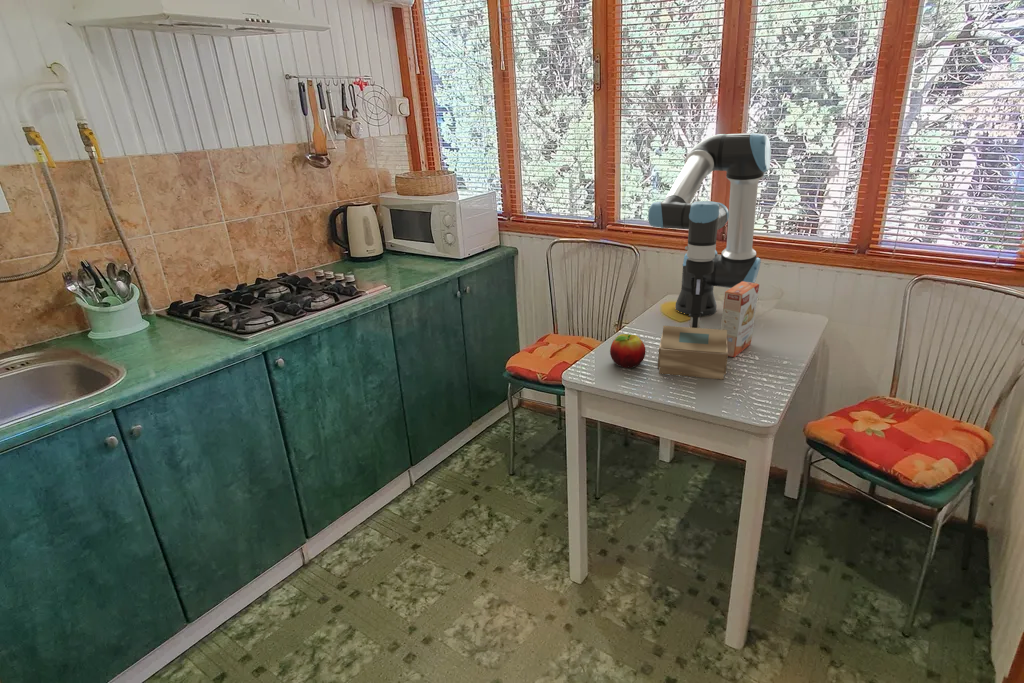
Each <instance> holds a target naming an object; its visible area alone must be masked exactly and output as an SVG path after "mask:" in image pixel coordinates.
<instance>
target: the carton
mask: <svg viewBox="0 0 1024 683" xmlns="http://www.w3.org/2000/svg"><path fill="white" fill-rule="evenodd" d="M662 335H663V332H662V333H661V337H660V343H659V345H658V346H659V347H658V359H657V369H659V370H658V374H659V375H665V374H670V375H669V376H676V375H680V376H679V377H686V376H688V378H700V379H711V380H719V381H723V380H724V377H725V375H727V367H728V366H727V365H728V359H729V358H728V357H729V356H728V348H727V339H726V353H718V352H705V351H692V350H680V349H667V348H661V346H662Z"/></svg>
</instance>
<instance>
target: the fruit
mask: <svg viewBox="0 0 1024 683" xmlns="http://www.w3.org/2000/svg"><path fill="white" fill-rule="evenodd" d="M645 345H646V344H645V343H644V342H643V341H642V339H641V338H640V337H639V336H638V335H635V334H627V333H621V334H619V335H617V336H616V337H615V338H614V340H613V341H612V343H611V345H610V350H609V352H610V353H609V354H610V358H611V359H612V361H613V362H614V363H615V364H616V365H617V366H618V367H621V368H624V369H632V368H636V367H637V366H639V365H640V364H641V363H643V361H644V359H645V358H646V352H647V350H646V346H645Z"/></svg>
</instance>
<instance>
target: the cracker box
mask: <svg viewBox="0 0 1024 683" xmlns="http://www.w3.org/2000/svg"><path fill="white" fill-rule="evenodd" d="M759 289H760V284H759V283H756V282H755V283H750V282H744V281H742V282H740V283H739V284H737V285H735V286H734V287H732V288H728V289H727V290H726V291H725V292H724V298H723V306H722V314H721V323H720V324H721V325H720V330H727V348H728V357H731V358H736V357H737V356H738V355H739V354H740V353H741V352H743V351H744V350H746V349H747V348H748V347H749V346H750V345H751V344H752V338H753V331H754V326H755V325H754V324H755V316H756V311H757V310H756V309H757V304H758V303H757V302H758V296H759Z"/></svg>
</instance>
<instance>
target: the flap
mask: <svg viewBox="0 0 1024 683" xmlns="http://www.w3.org/2000/svg"><path fill="white" fill-rule="evenodd" d="M662 333H663V335H662V334H661V337H662V346H661V348H667V349H680V350H692V351H705V352H718V353H726V339H727V330H721V328H720V329H719V328H718V329H716V328H705V327H704V328H702V327H699V328H690V326H688V327H687V326H675V325H674V326H673V325H663V327H662Z"/></svg>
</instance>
